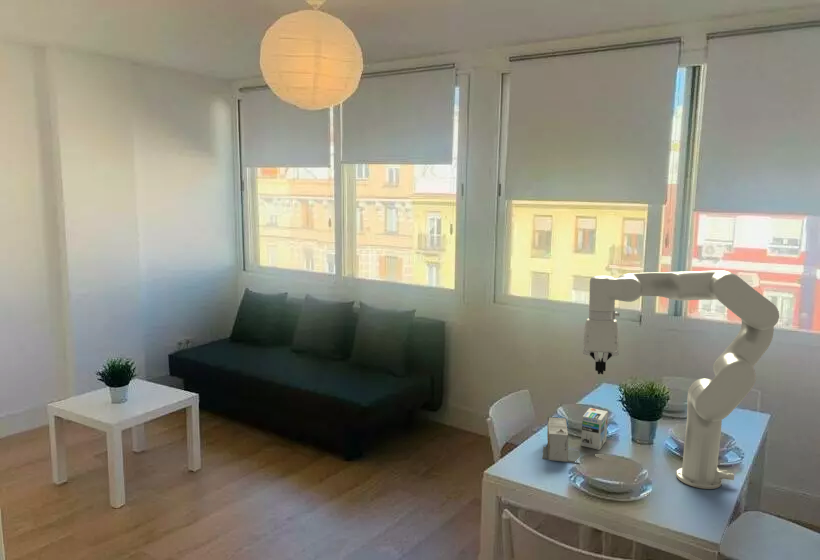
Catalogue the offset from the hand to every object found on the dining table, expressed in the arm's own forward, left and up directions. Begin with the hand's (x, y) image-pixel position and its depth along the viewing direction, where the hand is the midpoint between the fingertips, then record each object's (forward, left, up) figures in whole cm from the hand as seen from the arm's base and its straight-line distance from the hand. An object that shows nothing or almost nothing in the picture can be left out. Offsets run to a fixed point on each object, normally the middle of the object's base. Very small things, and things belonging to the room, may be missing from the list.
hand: (600, 373), depth 191 cm
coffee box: (+11, +2, -25) cm, 28 cm away
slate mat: (+10, -4, -31) cm, 33 cm away
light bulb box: (-1, -19, -31) cm, 36 cm away
